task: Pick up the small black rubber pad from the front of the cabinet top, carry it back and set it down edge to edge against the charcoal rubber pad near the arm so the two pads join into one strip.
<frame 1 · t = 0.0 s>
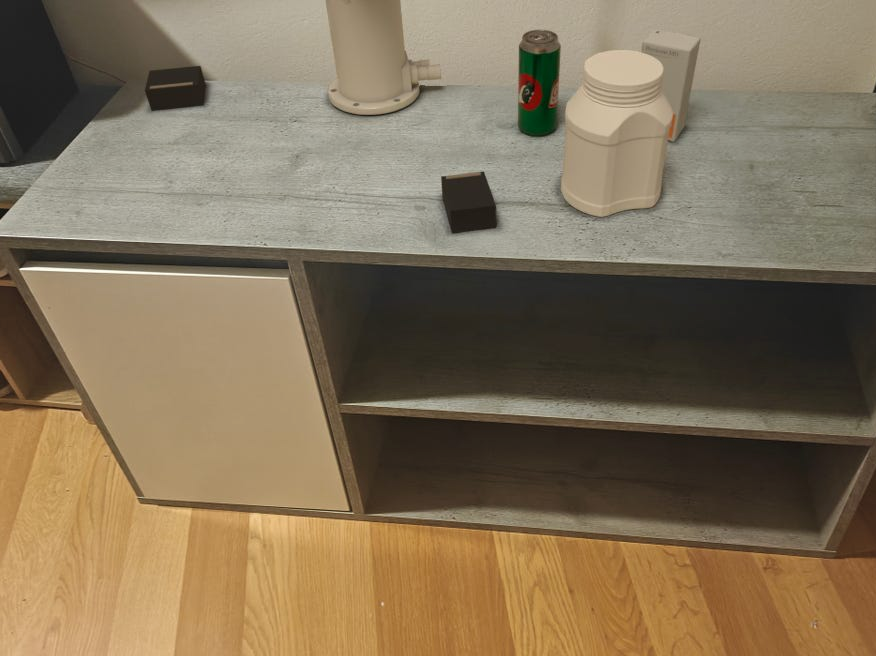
soda can: (537, 129, 105), on the table
black pad: (468, 212, 92), on the table
charcoal pad: (179, 98, 113), on the table
cosmetic box: (657, 131, 104), on the table
jar: (609, 191, 94), on the table
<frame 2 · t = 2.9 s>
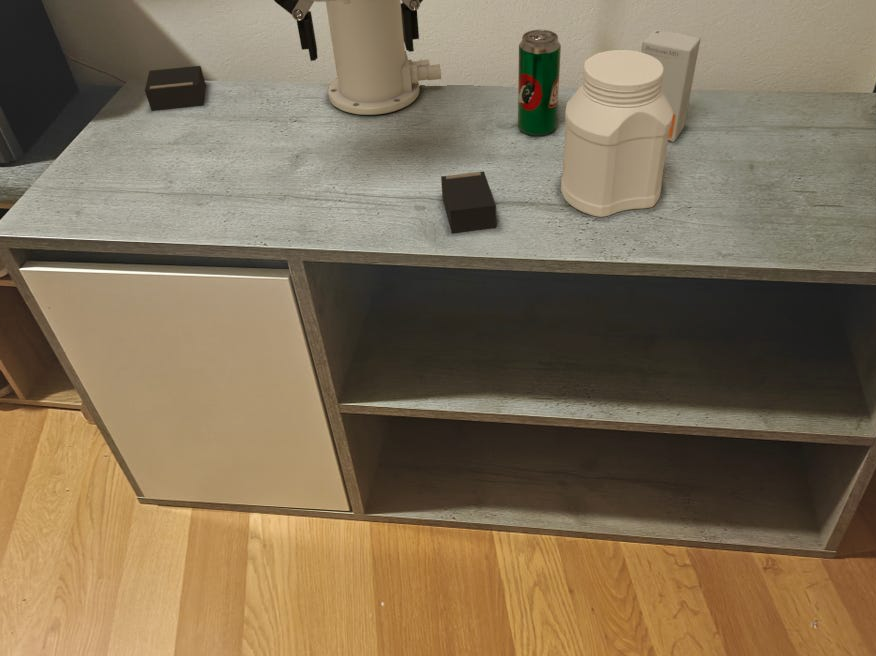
hand: (361, 50, 81), 18 cm above the table, tool pointing down, fingers open, 9 cm apart
nothing on the table moved.
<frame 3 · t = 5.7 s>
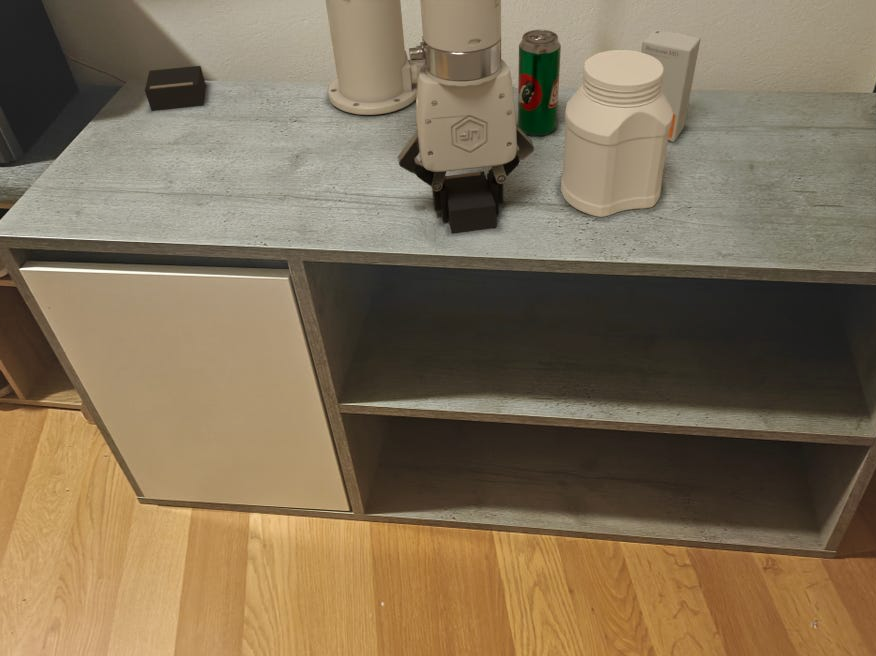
hand: (468, 209, 91), 0 cm above the table, tool pointing down, fingers closed on black pad, 5 cm apart
black pad: (468, 212, 92), on the table, touching gripper
everything else where it was.
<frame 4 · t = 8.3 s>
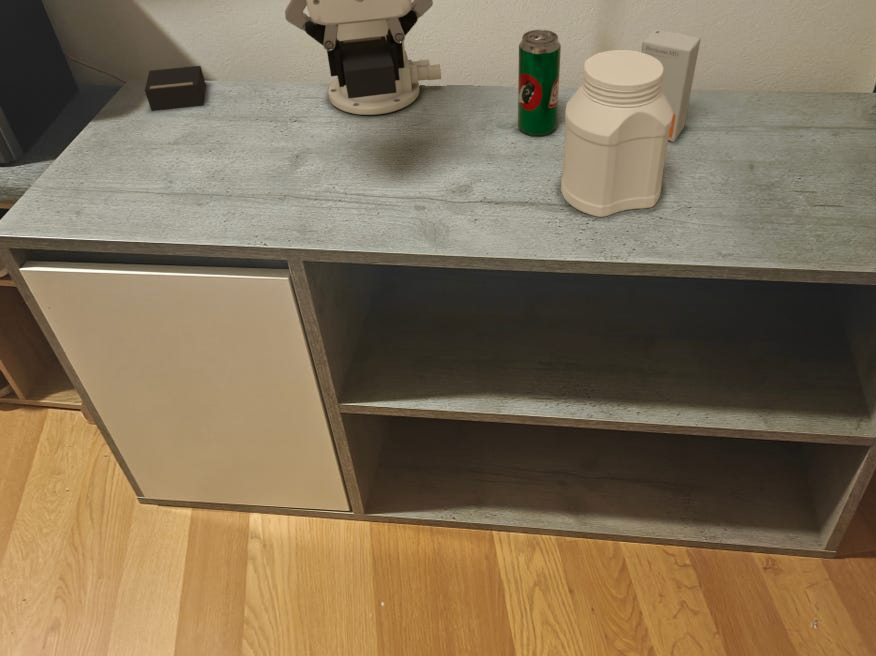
hand: (368, 76, 85), 14 cm above the table, tool pointing down, fingers closed on black pad, 5 cm apart
black pad: (368, 80, 86), point 14 cm above the table, touching gripper
everything else where it was.
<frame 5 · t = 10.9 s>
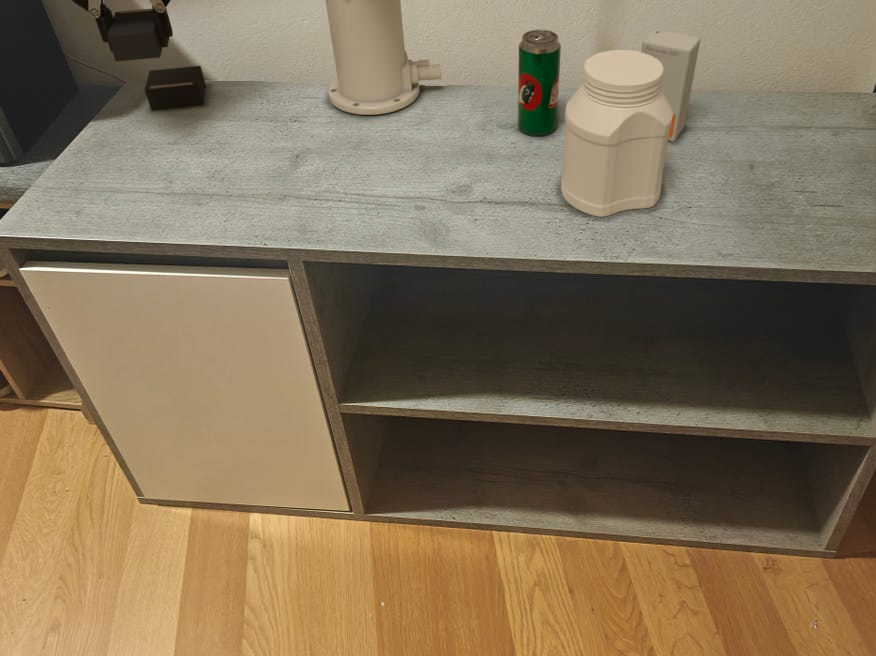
hand: (140, 43, 95), 13 cm above the table, tool pointing down, fingers closed on black pad, 5 cm apart
black pad: (141, 47, 95), point 12 cm above the table, touching gripper
everything else where it was.
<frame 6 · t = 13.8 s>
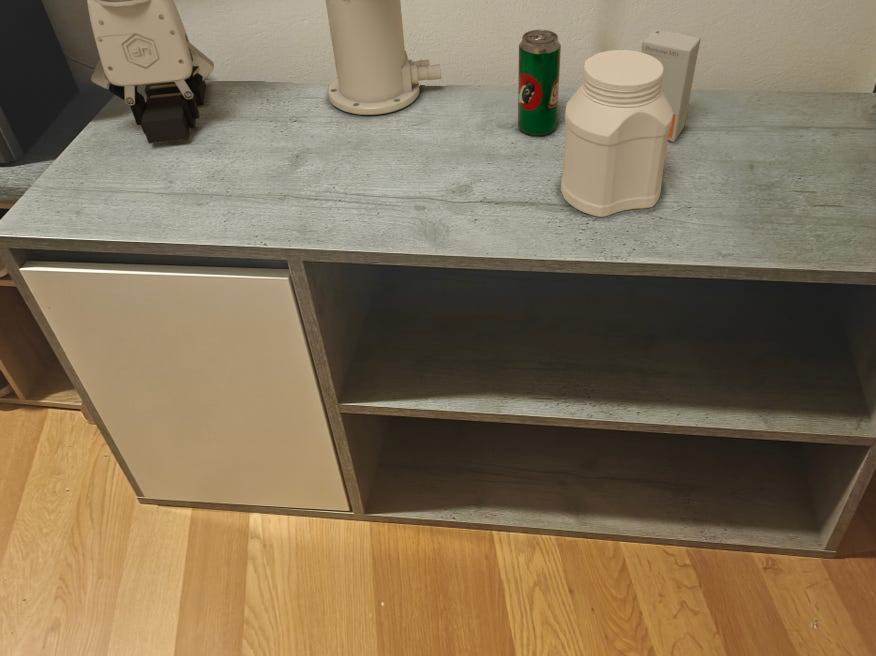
hand: (170, 124, 105), 1 cm above the table, tool pointing down, fingers closed on black pad, 5 cm apart
black pad: (171, 128, 105), point 1 cm above the table, touching gripper
everything else where it was.
when the fingers open (0 cm above the table, at t = 16.0 s): black pad stays where it is, on the table.
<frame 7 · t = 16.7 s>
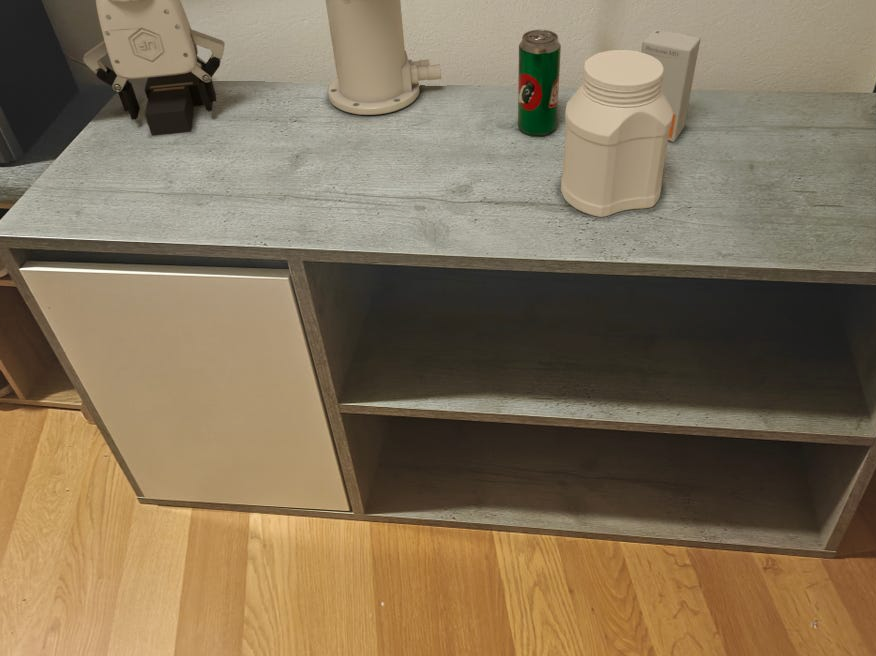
hand: (173, 110, 107), 1 cm above the table, tool pointing down, fingers open, 9 cm apart
black pad: (173, 120, 108), on the table
everything else where it was.
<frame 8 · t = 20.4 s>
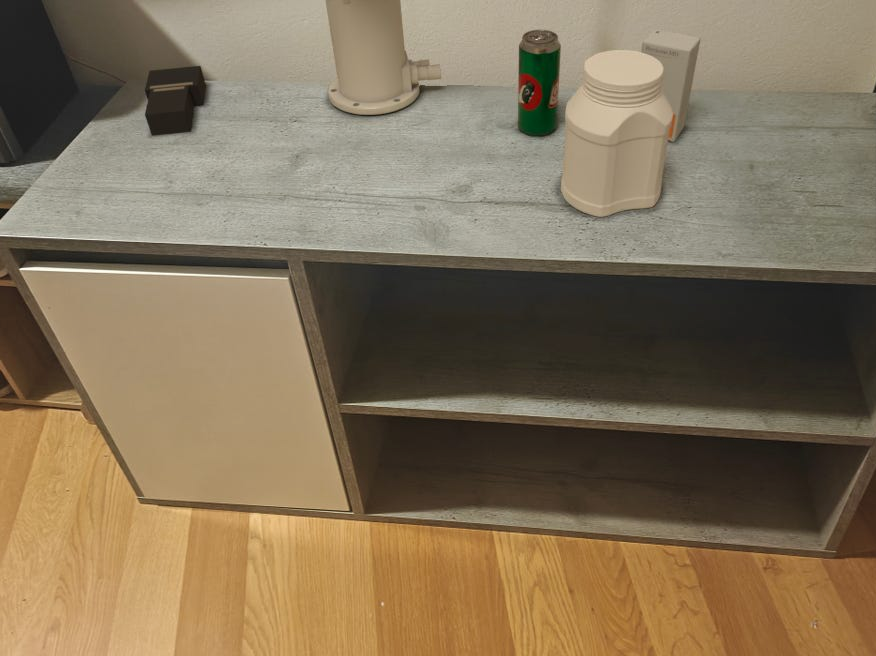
nothing on the table moved.
at the end: black pad 0.3 cm from the target spot on the table beside the charcoal pad, on the table; black pad tilted 0°; the gripper is holding nothing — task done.
